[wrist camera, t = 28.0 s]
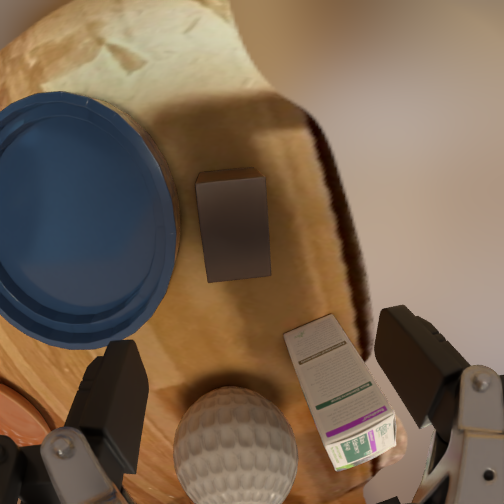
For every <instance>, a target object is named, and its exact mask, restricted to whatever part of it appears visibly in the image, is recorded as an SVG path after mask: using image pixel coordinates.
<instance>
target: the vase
mask: <svg viewBox="0 0 504 504" xmlns="http://www.w3.org/2000/svg"><path fill="white" fill-rule="evenodd" d="M173 459H174V467H175V471H176V474H177V477H178V480H179V482H180V483H181V485H182V487H183V489H184V491H185V492H186V494H187V495H188V497H189V498H190V499H191V500H192V501H193V502H194V504H282V502H283V501H284V500H285V499H286V497H287V495H288V494H289V492H290V490H291V488H292V486H293V483H294V480H295V477H296V473H297V466H298V449H297V445H296V441H295V437H294V433H293V431H292V428H291V426H290V424H289V422H288V420H287V419H286V417H285V416H284V414H283V413H282V412H281V411H280V410H279V409H278V408H277V407H276V406H275V405H274V404H273V403H272V402H271V401H269V400H268V399H266V398H265V397H264V396H262V395H261V394H259V393H257V392H255V391H252V390H249V389H246V388H242V387H238V386H225V387H220V388H217V389H215V390H212V391H210V392H208V393H206V394H205V395H203V396H201V397H200V398H199V399H198V400H196V401H195V402H194V403H193V404H192V405H191V406H190V408H189V409H188V410H187V411H186V413H185V414H184V415H183V417H182V418H181V420H180V422H179V425H178V427H177V429H176V433H175V438H174V444H173Z"/></svg>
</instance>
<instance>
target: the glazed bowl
mask: <svg viewBox="0 0 504 504" xmlns="http://www.w3.org/2000/svg"><path fill="white" fill-rule="evenodd" d="M180 228H181V216H180V209H179V201H178V193H177V189H176V186H175V183H174V181H173V178H172V175H171V172H170V169H169V167H168V164H167V162H166V160H165V158H164V156H163V155H162V153H161V152H160V150H159V149H158V147H157V145H156V144H155V142H154V141H153V139H152V137H151V136H150V135H149V134H148V133H147V132H146V131H145V130H144V129H143V128H142V127H141V126H140V125H139V124H138V123H137V122H136V121H135V120H134V119H133V118H132V117H131V116H130V115H129V114H127V113H125V112H123V111H122V110H120V109H118V108H116V107H115V106H113V105H111V104H109V103H107V102H106V101H103V100H99V99H95V98H91V97H86V96H82V95H78V94H73V93H69V92H63V91H59V92H46V93H36V94H34V95H31V96H28V97H26V98H23V99H21V100H18V101H16V102H14V103H11V104H10V105H9V106H7V107H6V108H5V109H3V110H2V111H1V112H0V315H1V316H2V317H3V318H4V319H5V320H7V321H8V322H9V323H10V324H11V325H13V326H14V327H16V328H17V329H18V330H20V331H21V332H23V333H24V334H26V335H27V336H30V337H32V338H34V339H36V340H39V341H41V342H43V343H45V344H48V345H51V346H55V347H60V348H64V349H69V350H91V349H97V348H101V347H105V346H108V344H109V342H110V341H113V340H122V339H124V338H126V337H128V336H130V335H132V334H133V333H135V332H136V331H137V330H138V329H139V328H140V327H141V326H142V325H143V324H144V323H145V322H146V321H148V320H149V319H150V318H151V317H152V315H153V314H154V312H155V310H156V309H157V307H158V305H159V304H160V302H161V300H162V299H163V297H164V295H165V294H166V291H167V288H168V285H169V281H170V278H171V275H172V272H173V268H174V265H175V261H176V258H177V254H178V250H179V240H180Z"/></svg>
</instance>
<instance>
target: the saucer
mask: <svg viewBox="0 0 504 504" xmlns="http://www.w3.org/2000/svg"><path fill="white" fill-rule="evenodd" d="M50 432H51V431H50V429H49V427H48V425H47V423H46V422H45V420H44V418H43V416H42V415H41V414H40V413H39V411H38V410H37V409H36V408H35V407H34V406H33V405H32V404H31V403H30V402H29V401H28V400H27V399H25V398H24V397H23V396H22V395H20V394H19V393H18V392H16V391H15V390H13V389H11V388H10V387H8V386H6V385H3V384H1V383H0V435H6V436H8V437H10V438H11V439H12V440H13V441H14V442H15V443H16V444H17V445H18V447H23V446H31V445H39V444H42V441H43V439H44V438H45V437H46V435H47V434H48V433H50Z"/></svg>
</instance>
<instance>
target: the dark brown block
mask: <svg viewBox="0 0 504 504" xmlns="http://www.w3.org/2000/svg"><path fill="white" fill-rule="evenodd" d="M195 189H196V198H197V206H198V214H199V222H200V230H201V238H202V245H203V253H204V260H205V267H206V274H207V281H208V283H213V282H222V281H231V280H240V279H248V278H257V277H266V276H271V259H270V240H269V223H268V206H267V190H266V177H265V176H264V175H263V174H261V173H260V172H259V171H258V170H257V169H255V168H254V167H249V168H238V169H227V170H217V171H208V172H200V173H199V176H198V178H197V181H196V183H195Z"/></svg>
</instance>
